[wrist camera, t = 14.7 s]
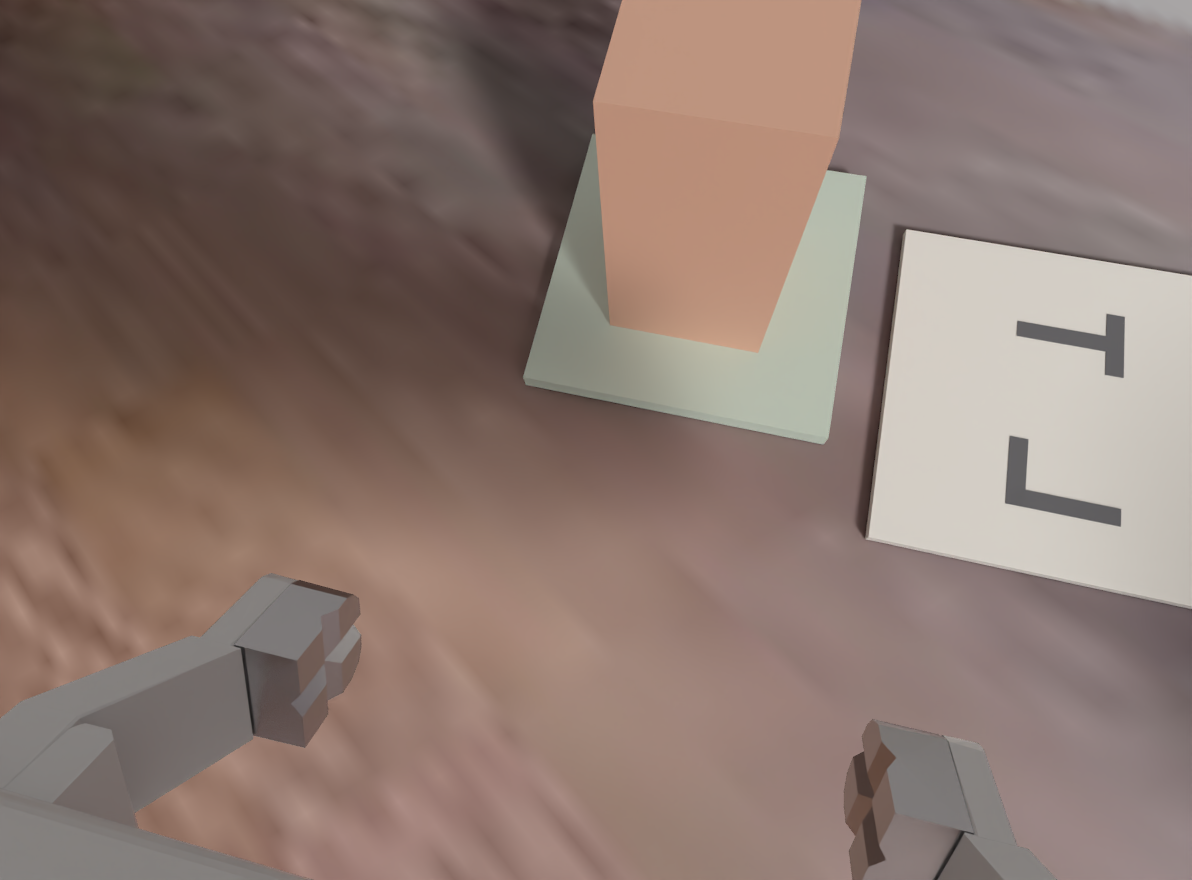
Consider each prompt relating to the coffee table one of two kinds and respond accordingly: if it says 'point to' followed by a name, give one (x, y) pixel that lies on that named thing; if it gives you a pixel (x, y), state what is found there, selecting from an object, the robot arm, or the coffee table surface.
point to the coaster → (695, 369)
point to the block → (715, 156)
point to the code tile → (1039, 416)
